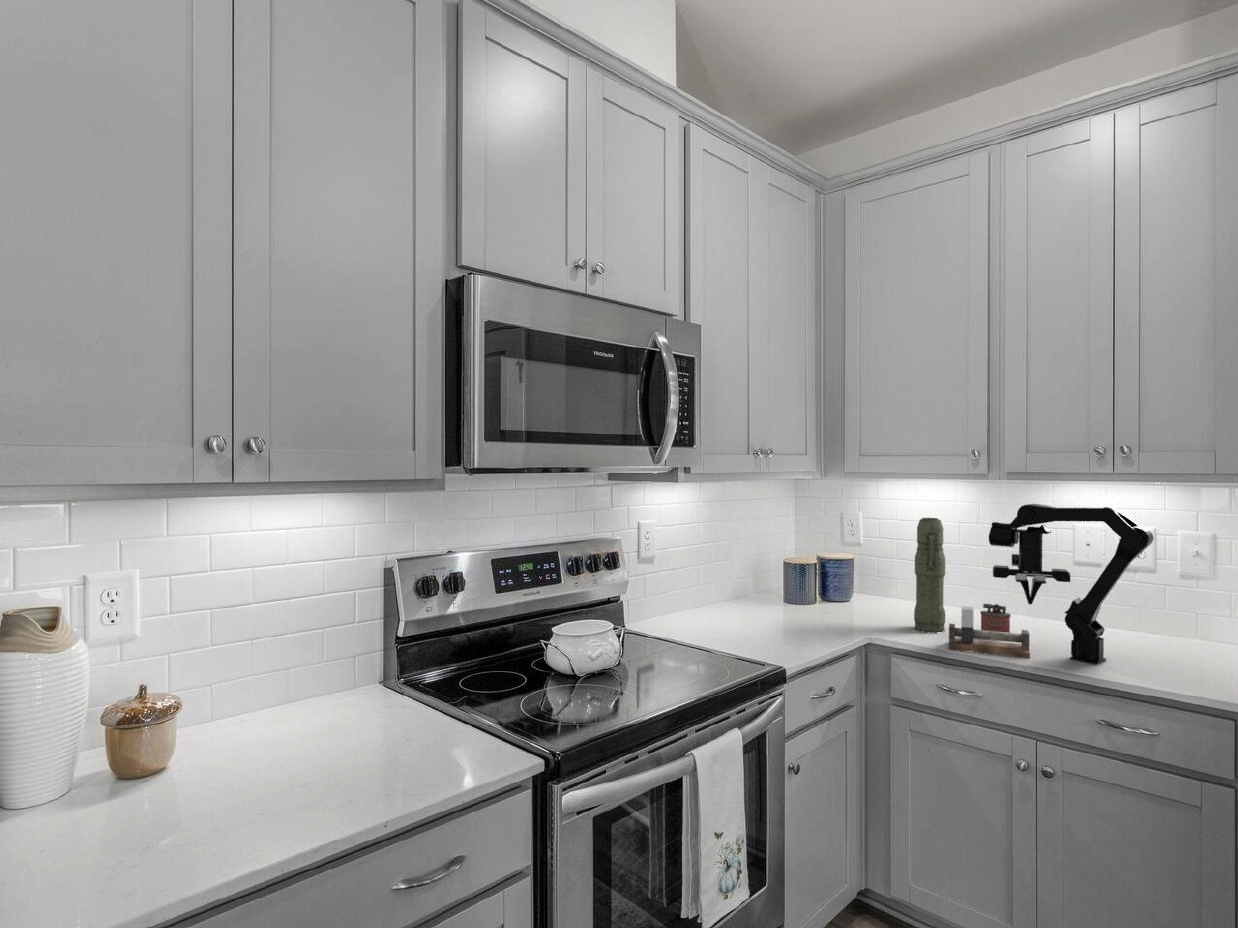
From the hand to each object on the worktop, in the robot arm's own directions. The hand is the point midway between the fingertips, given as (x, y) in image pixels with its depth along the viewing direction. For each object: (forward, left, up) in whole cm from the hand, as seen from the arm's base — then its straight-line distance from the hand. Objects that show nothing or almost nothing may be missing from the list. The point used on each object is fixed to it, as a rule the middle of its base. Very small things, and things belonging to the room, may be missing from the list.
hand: (1030, 604), depth 206 cm
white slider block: (+12, +12, -11) cm, 20 cm away
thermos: (+30, 0, -13) cm, 33 cm away
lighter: (+13, -7, -13) cm, 20 cm away
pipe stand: (+7, +9, -13) cm, 18 cm away
